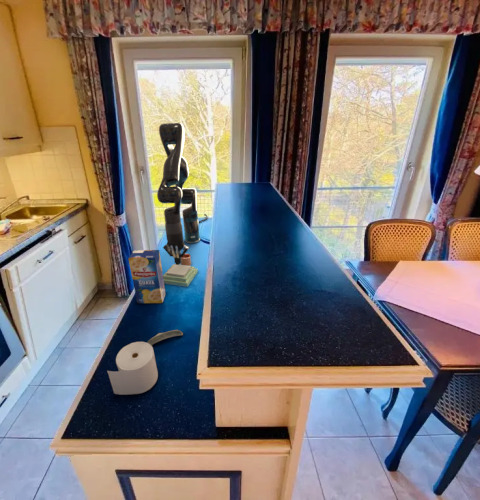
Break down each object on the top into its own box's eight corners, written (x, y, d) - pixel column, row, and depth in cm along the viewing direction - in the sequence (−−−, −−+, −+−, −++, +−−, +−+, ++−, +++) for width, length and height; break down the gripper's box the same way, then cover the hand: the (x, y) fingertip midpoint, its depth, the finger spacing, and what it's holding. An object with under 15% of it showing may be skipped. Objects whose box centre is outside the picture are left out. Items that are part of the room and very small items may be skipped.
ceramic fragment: (145, 349, 96) (143, 340, 94) (142, 339, 100) (141, 331, 99) (184, 337, 101) (183, 329, 99) (180, 328, 105) (179, 320, 103)
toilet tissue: (163, 368, 89) (159, 344, 84) (145, 402, 78) (139, 377, 74) (134, 362, 91) (128, 339, 87) (112, 394, 81) (105, 370, 77)
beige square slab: (174, 266, 142) (174, 263, 141) (191, 268, 139) (190, 265, 138) (166, 275, 134) (166, 272, 133) (184, 277, 131) (183, 275, 131)
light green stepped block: (172, 268, 146) (172, 262, 144) (197, 271, 142) (197, 265, 140) (160, 283, 134) (159, 276, 132) (187, 286, 130) (186, 280, 128)
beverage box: (141, 293, 126) (133, 250, 116) (165, 293, 126) (159, 249, 116) (137, 303, 120) (127, 258, 110) (162, 303, 120) (155, 257, 110)
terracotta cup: (183, 261, 153) (182, 253, 150) (192, 262, 151) (191, 254, 149) (179, 266, 148) (178, 257, 146) (188, 267, 146) (188, 259, 144)
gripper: (190, 228, 128) (193, 261, 136) (164, 226, 132) (169, 259, 139) (184, 234, 122) (187, 269, 129) (157, 232, 125) (162, 266, 133)
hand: (178, 263), depth 134 cm, fingers closed
